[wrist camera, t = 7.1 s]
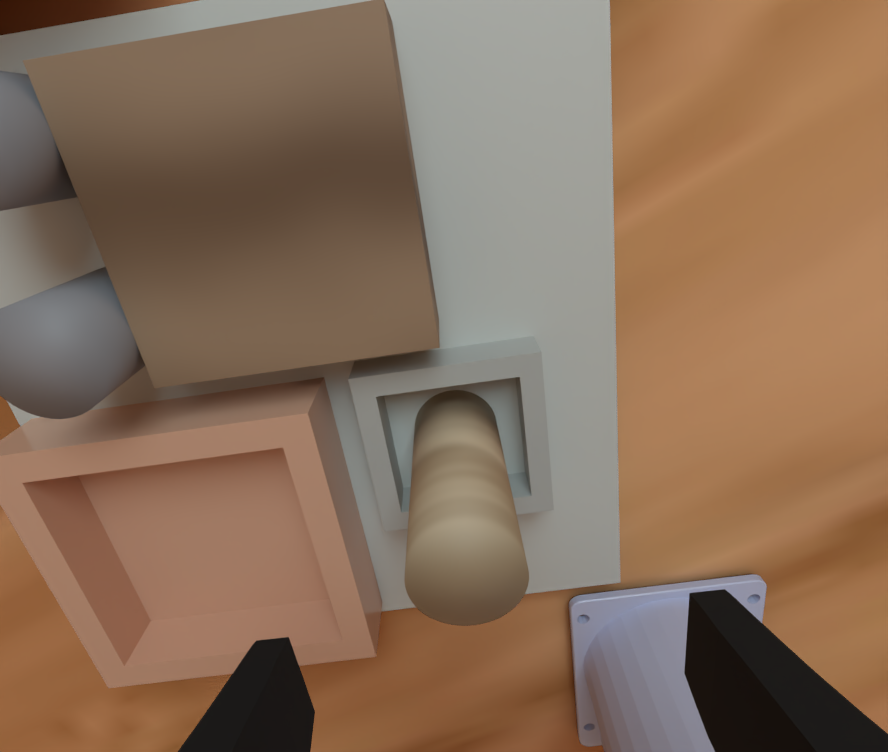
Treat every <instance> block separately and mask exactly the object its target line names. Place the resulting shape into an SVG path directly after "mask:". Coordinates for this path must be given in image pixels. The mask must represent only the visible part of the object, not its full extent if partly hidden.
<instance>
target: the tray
mask: <svg viewBox="0 0 888 752" xmlns="http://www.w3.org/2000/svg"><path fill="white" fill-rule="evenodd" d="M0 505H1V506H2V508H3V510H4V511H5V513H6V515H7V516H8V518H9V520H10V522H11V523H12V525H13V527H14V528H15V530H16V532H17V533H18V535H19V537H20V539H21V540H22V542H23V544H24V545H25V547H26V549H27V550H28V552H29V554H30V556H31V557H32V559H33V561H34V562H35V564H36V566H37V567H38V569H39V571H40V573H41V574H42V576H43V578H44V579H45V581H46V583H47V584H48V586H49V588H50V590H51V591H52V593H53V595H54V596H55V598H56V600H57V601H58V603H59V605H60V607H61V608H62V610H63V612H64V613H65V615H66V617H67V618H68V620H69V622H70V624H71V625H72V627H73V629H74V630H75V632H76V634H77V635H78V637H79V639H80V641H81V642H82V644H83V646H84V647H85V649H86V651H87V652H88V654H89V656H90V658H91V659H92V661H93V663H94V664H95V666H96V668H97V669H98V671H99V673H100V675H101V676H102V678H103V680H104V681H105V683H106V685H107V686H108V688H115V687H123V686H132V685H140V684H149V683H157V682H166V681H174V680H183V679H191V678H200V677H208V676H217V675H225V674H233V672H234V671H235V669H236V668H237V667H238V665H239V664H240V662H241V661H242V659H243V658H244V656H245V655H246V653H247V652H248V651H249V649H250V648H251V646H252V645H253V644H254V643H255V641H257V640H266V639H275V638H284V637H289V639H290V642H291V645H292V648H293V650H294V653H295V656H296V659H297V662H298V665H299V666H302V665H311V664H319V663H328V662H336V661H345V660H353V659H362V658H370V657H376V655H377V646H378V637H379V628H380V619H381V610H382V599H381V595H380V591H379V587H378V583H377V579H376V575H375V572H374V568H373V564H372V560H371V556H370V552H369V549H368V545H367V541H366V537H365V533H364V529H363V525H362V522H361V518H360V514H359V510H358V506H357V502H356V498H355V495H354V491H353V487H352V483H351V479H350V475H349V471H348V468H347V464H346V460H345V456H344V452H343V448H342V444H341V441H340V437H339V433H338V429H337V425H336V421H335V417H334V414H333V410H332V406H331V402H330V398H329V394H328V391H327V387H326V383H325V379H324V377H322V378H315V379H308V380H301V381H294V382H287V383H280V384H272V385H265V386H258V387H251V388H244V389H237V390H230V391H223V392H216V393H209V394H202V395H195V396H188V397H181V398H173V399H166V400H159V401H152V402H145V403H138V404H131V405H124V406H117V407H110V408H103V409H96V410H89V411H88V412H86V413H84V414H82V415H79V416H76V417H73V418H68V419H50V418H44V417H39V418H32V419H30V420H29V421H27V422H26V423H25V424H23V425H22V426H20V427H19V428H18V429H16V430H15V431H13V432H12V433H10V434H9V435H8V436H6V437H5V438H3V439H2V440H1V441H0Z"/></svg>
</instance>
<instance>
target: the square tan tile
mask: <svg viewBox="0 0 888 752" xmlns="http://www.w3.org/2000/svg"><path fill="white" fill-rule="evenodd" d="M23 63H24V65H25V68H26V70H27V73H28V75H29V78H30V80H31V83H32V85H33V88H34V90H35V93H36V95H37V98H38V100H39V103H40V105H41V108H42V110H43V113H44V115H45V118H46V120H47V123H48V125H49V128H50V130H51V132H52V135H53V137H54V140H55V142H56V145H57V147H58V150H59V152H60V155H61V157H62V160H63V162H64V165H65V167H66V170H67V172H68V175H69V177H70V180H71V182H72V185H73V187H74V190H75V192H76V195H77V197H78V199H79V202H80V204H81V207H82V209H83V212H84V214H85V217H86V219H87V222H88V224H89V227H90V229H91V232H92V234H93V237H94V239H95V242H96V244H97V247H98V249H99V252H100V254H101V257H102V259H103V262H104V264H105V267H106V269H107V271H108V274H109V276H110V279H111V281H112V284H113V286H114V289H115V291H116V294H117V296H118V299H119V301H120V304H121V306H122V309H123V311H124V314H125V316H126V319H127V321H128V324H129V326H130V329H131V331H132V334H133V336H134V339H135V341H136V343H137V346H138V348H139V351H140V353H141V356H142V358H143V361H144V363H145V366H146V368H147V371H148V373H149V376H150V378H151V381H152V383H153V386H154V388H161V387H168V386H175V385H182V384H189V383H196V382H203V381H210V380H217V379H224V378H231V377H238V376H245V375H252V374H259V373H266V372H273V371H280V370H288V369H295V368H302V367H309V366H316V365H323V364H330V363H337V362H344V361H351V360H358V359H365V358H372V357H379V356H386V355H393V354H400V353H407V352H414V351H421V350H428V349H435V348H440V343H439V316H438V310H437V304H436V297H435V291H434V284H433V278H432V272H431V265H430V259H429V253H428V246H427V240H426V233H425V227H424V221H423V214H422V208H421V202H420V195H419V189H418V182H417V176H416V170H415V163H414V157H413V151H412V144H411V138H410V131H409V125H408V119H407V112H406V106H405V100H404V93H403V87H402V80H401V74H400V68H399V61H398V55H397V49H396V42H395V36H394V29H393V23H392V19H391V16H390V14H389V11H388V8H387V6H386V3H385V1H384V0H371V1H365V2H360V3H354V4H348V5H342V6H336V7H331V8H325V9H319V10H313V11H307V12H301V13H296V14H290V15H284V16H278V17H272V18H267V19H261V20H255V21H249V22H243V23H238V24H232V25H226V26H220V27H214V28H209V29H203V30H197V31H191V32H185V33H179V34H174V35H168V36H162V37H156V38H150V39H145V40H139V41H133V42H127V43H121V44H116V45H110V46H104V47H98V48H92V49H86V50H81V51H75V52H69V53H63V54H57V55H52V56H46V57H40V58H34V59H28V60H23Z"/></svg>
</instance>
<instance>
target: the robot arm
mask: <svg viewBox="0 0 888 752" xmlns="http://www.w3.org/2000/svg"><path fill="white" fill-rule="evenodd" d="M766 589H767V587H766V583H765V582H764V581H763V579H762V578H761V577H760V576H758V575H754V574H750V575H742V576H733V577H725V578H717V579H709V580H700V581H692V582H684V583H675V584H667V585H659V586H650V587H642V588H634V589H626V590H617V591H609V592H601V593H592V594H584V595H578V596H575V597H574V598H572V599H571V600H570V602H569V616H570V630H571V644H572V658H573V672H574V686H575V701H576V715H577V729H578V737H579V741H580V743H581V744H582V745H584V746H590V747H591V746H600V745H602V746H603V750H604V752H888V734H887V733H886V732H885V731H884V730H882V729H881V728H880V727H879V726H878V725H876V724H875V723H874V722H873V721H872V720H870V719H869V718H868V717H867V716H866V715H864V714H863V713H862V712H861V711H860V710H859V709H857V708H856V707H855V706H854V705H853V704H852V703H850V702H849V701H848V700H847V699H846V698H845V697H844V696H842V695H841V694H840V693H839V692H838V691H837V690H835V689H834V688H833V687H832V686H831V685H830V684H829V683H827V682H826V681H825V680H824V679H823V678H822V677H820V676H819V675H818V674H817V673H816V672H815V671H814V670H813V669H811V668H810V667H809V666H808V665H807V664H806V663H805V662H804V661H803V660H801V659H800V658H799V657H798V656H797V655H796V654H795V653H794V652H793V651H792V650H790V649H789V648H788V647H787V646H786V645H785V644H784V643H783V642H782V641H781V640H779V639H778V638H777V637H776V636H775V635H774V634H773V633H772V632H771V631H770V630H769V629H768V628H767V627H765V626H764V625H763V624H762V620H763V612H764V604H765V597H766ZM580 615H583V616H580ZM314 714H315V711H314V708H313V705H312V702H311V699H310V696H309V694H308V691H307V688H306V685H305V682H304V679H303V676H302V673H301V671H300V668H299V665H298V662H297V659H296V656H295V653H294V650H293V648H292V645H291V642H290V639H289V637H284V638H275V639H266V640H257V641H255V643H254V644H253V645H252V646H251V648H250V649H249V651H248V652H247V653H246V655H245V656H244V658H243V659H242V661H241V662H240V664H239V665H238V667H237V668H236V669H235V671H234V672H233V674H232V675H231V677H230V678H229V680H228V681H227V683H226V684H225V686H224V687H223V689H222V690H221V691H220V693H219V694H218V696H217V697H216V699H215V700H214V702H213V703H212V704H211V706H210V707H209V709H208V710H207V712H206V713H205V714H204V716H203V717H202V719H201V720H200V722H199V723H198V724H197V726H196V727H195V729H194V730H193V731H192V733H191V734H190V736H189V737H188V738H187V740H186V741H185V743H184V744H183V745H182V747H181V748H180V749H179V751H178V752H310V749H311V740H312V731H313V723H314Z"/></svg>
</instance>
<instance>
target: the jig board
mask: <svg viewBox="0 0 888 752" xmlns="http://www.w3.org/2000/svg"><path fill="white" fill-rule="evenodd" d="M365 1H371V0H201V1H195V2H189V3H183V4H178V5H172V6H166V7H161V8H155V9H149V10H143V11H138V12H132V13H126V14H121V15H115V16H109V17H103V18H98V19H92V20H86V21H80V22H75V23H69V24H63V25H58V26H52V27H46V28H40V29H35V30H29V31H23V32H18V33H12V34H6V35H0V396H2V397H3V398H4V399H5V400H7V402H8V404H9V406H10V408H11V409H12V411H13V413H14V415H15V417H16V419H17V421H18V423H19V424H20V426H22V425H23V424H25V423H26V422H27V421H29V420H30V419H32V418H39V417H44V418H50V419H68V418H73V417H76V416H79V415H82V414H84V413H86V412H88V411H89V410H96V409H103V408H110V407H117V406H124V405H131V404H138V403H145V402H152V401H159V400H166V399H173V398H181V397H188V396H195V395H202V394H209V393H216V392H223V391H230V390H237V389H244V388H251V387H258V386H265V385H272V384H280V383H287V382H294V381H301V380H308V379H315V378H322V377H324V379H325V383H326V387H327V391H328V394H329V398H330V402H331V406H332V410H333V414H334V417H335V421H336V425H337V429H338V433H339V437H340V441H341V444H342V448H343V452H344V456H345V460H346V464H347V468H348V471H349V475H350V479H351V483H352V487H353V491H354V495H355V498H356V502H357V506H358V510H359V514H360V518H361V522H362V525H363V529H364V533H365V537H366V541H367V545H368V549H369V552H370V556H371V560H372V564H373V568H374V572H375V575H376V579H377V583H378V587H379V591H380V595H381V599H382V610H381V611H390V610H398V609H406V608H415V607H416V606H415V605H414V604H413V603H412V601H411V600H410V598H409V596H408V594H407V592H406V588H405V582H404V579H405V562H406V547H407V532H408V518H409V503H410V488H411V473H412V459H413V444H414V429H415V420H416V416H417V414H418V412H419V410H420V408H421V407H422V405H423V404H424V403H425V402H426V401H427V400H429V399H430V398H431V397H433V396H434V395H437V394H439V393H442V392H445V391H450V390H463V391H468V392H471V393H474V394H476V395H478V396H480V397H481V398H483V399H484V400H485V401H486V402H487V403H488V404H489V405H490V407H491V408H492V410H493V412H494V414H495V417H496V422H497V426H498V431H499V436H500V440H501V445H502V449H503V454H504V459H505V463H506V468H507V473H508V477H509V482H510V487H511V491H512V496H513V500H514V505H515V510H516V514H517V519H518V524H519V528H520V533H521V537H522V542H523V547H524V551H525V556H526V561H527V565H528V570H529V583H528V587H527V590H526V592H525V594H530V593H538V592H547V591H555V590H563V589H571V588H580V587H588V586H596V585H604V584H613V583H620V541H619V485H618V430H617V375H616V319H615V264H614V209H613V153H612V98H611V43H610V0H384V1H385V3H386V6H387V8H388V11H389V14H390V16H391V19H392V23H393V29H394V36H395V42H396V49H397V55H398V61H399V68H400V74H401V80H402V87H403V93H404V100H405V106H406V112H407V119H408V125H409V131H410V138H411V144H412V151H413V157H414V163H415V170H416V176H417V182H418V189H419V195H420V202H421V208H422V214H423V221H424V227H425V233H426V240H427V246H428V253H429V259H430V265H431V272H432V278H433V284H434V291H435V297H436V304H437V310H438V316H439V343H440V348H435V349H428V350H421V351H414V352H407V353H400V354H393V355H386V356H379V357H372V358H365V359H358V360H351V361H344V362H337V363H330V364H323V365H316V366H309V367H302V368H295V369H288V370H280V371H273V372H266V373H259V374H252V375H245V376H238V377H231V378H224V379H217V380H210V381H203V382H196V383H189V384H182V385H175V386H168V387H161V388H154V386H153V383H152V381H151V378H150V376H149V373H148V371H147V368H146V366H145V363H144V361H143V358H142V356H141V353H140V351H139V348H138V346H137V343H136V341H135V339H134V336H133V334H132V331H131V329H130V326H129V324H128V321H127V319H126V316H125V314H124V311H123V309H122V306H121V304H120V301H119V299H118V296H117V294H116V291H115V289H114V286H113V284H112V281H111V279H110V276H109V274H108V271H107V269H106V267H105V264H104V262H103V259H102V257H101V254H100V252H99V249H98V247H97V244H96V242H95V239H94V237H93V234H92V232H91V229H90V227H89V224H88V222H87V219H86V217H85V214H84V212H83V209H82V207H81V204H80V202H79V199H78V197H77V195H76V192H75V190H74V187H73V185H72V182H71V180H70V177H69V175H68V172H67V170H66V167H65V165H64V162H63V160H62V157H61V155H60V152H59V150H58V147H57V145H56V142H55V140H54V137H53V135H52V132H51V130H50V128H49V125H48V123H47V120H46V118H45V115H44V113H43V110H42V108H41V105H40V103H39V100H38V98H37V95H36V93H35V90H34V88H33V85H32V83H31V80H30V78H29V75H28V73H27V70H26V68H25V65H24V63H23V60H28V59H34V58H40V57H46V56H52V55H57V54H63V53H69V52H75V51H81V50H86V49H92V48H98V47H104V46H110V45H116V44H121V43H127V42H133V41H139V40H145V39H150V38H156V37H162V36H168V35H174V34H179V33H185V32H191V31H197V30H203V29H209V28H214V27H220V26H226V25H232V24H238V23H243V22H249V21H255V20H261V19H267V18H272V17H278V16H284V15H290V14H296V13H301V12H307V11H313V10H319V9H325V8H331V7H336V6H342V5H348V4H354V3H360V2H365Z"/></svg>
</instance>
